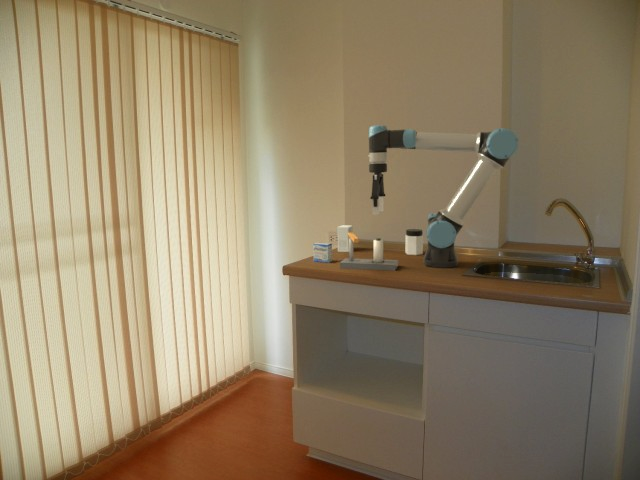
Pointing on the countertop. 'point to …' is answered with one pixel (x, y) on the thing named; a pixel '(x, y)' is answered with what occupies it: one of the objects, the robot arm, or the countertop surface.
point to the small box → (343, 237)
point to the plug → (378, 250)
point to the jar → (414, 242)
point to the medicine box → (322, 252)
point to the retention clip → (353, 237)
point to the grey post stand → (366, 262)
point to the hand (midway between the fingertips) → (378, 213)
